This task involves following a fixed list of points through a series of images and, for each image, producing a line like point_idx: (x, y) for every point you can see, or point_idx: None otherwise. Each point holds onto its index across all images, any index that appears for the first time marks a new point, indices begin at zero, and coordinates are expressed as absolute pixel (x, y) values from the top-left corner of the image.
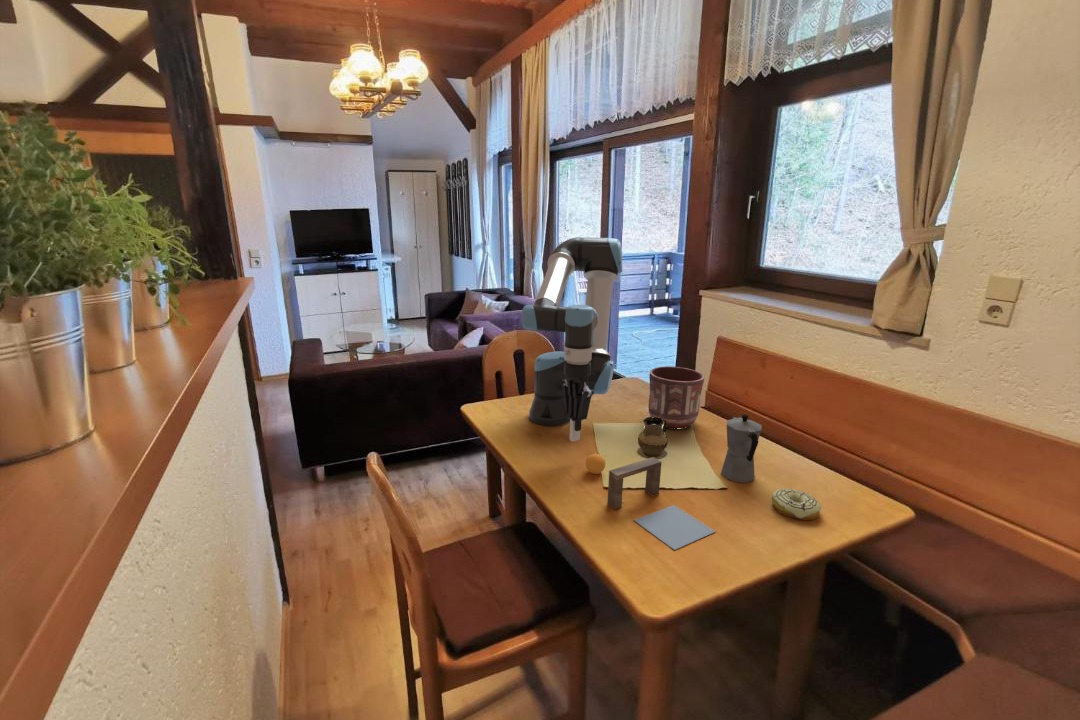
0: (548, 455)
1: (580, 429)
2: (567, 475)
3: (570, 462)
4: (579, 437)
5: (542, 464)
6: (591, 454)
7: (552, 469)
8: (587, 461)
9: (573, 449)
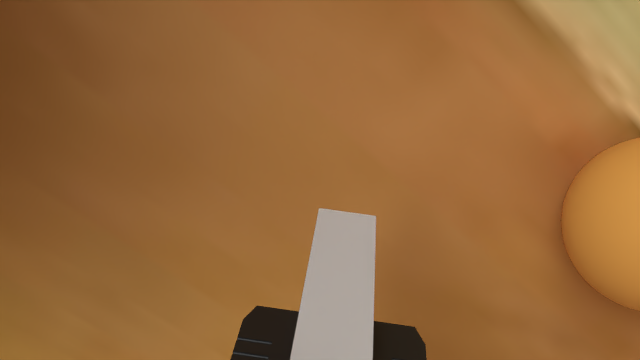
0: (186, 251)
1: (420, 345)
2: (497, 334)
3: (371, 208)
4: (373, 237)
5: None
6: (630, 271)
7: None
8: (627, 307)
9: (199, 35)
